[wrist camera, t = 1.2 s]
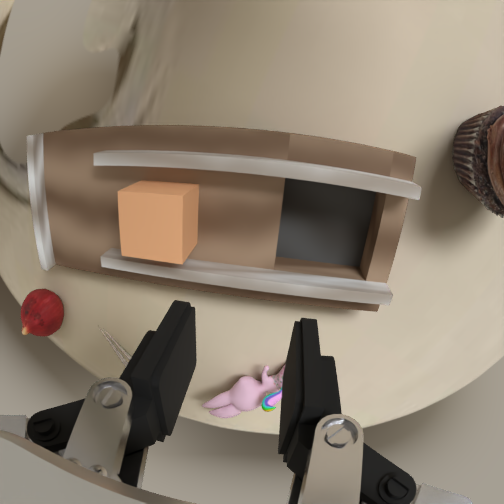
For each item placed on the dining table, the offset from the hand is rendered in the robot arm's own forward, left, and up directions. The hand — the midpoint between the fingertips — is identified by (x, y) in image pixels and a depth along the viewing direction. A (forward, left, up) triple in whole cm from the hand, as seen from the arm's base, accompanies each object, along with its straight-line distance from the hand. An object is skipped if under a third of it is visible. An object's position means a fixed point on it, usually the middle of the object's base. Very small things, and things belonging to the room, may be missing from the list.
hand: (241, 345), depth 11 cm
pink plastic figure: (+21, +1, -18) cm, 27 cm away
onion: (+14, -26, -17) cm, 34 cm away
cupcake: (-9, +20, -18) cm, 28 cm away
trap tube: (0, -6, -17) cm, 18 cm away
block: (0, -8, -14) cm, 16 cm away
